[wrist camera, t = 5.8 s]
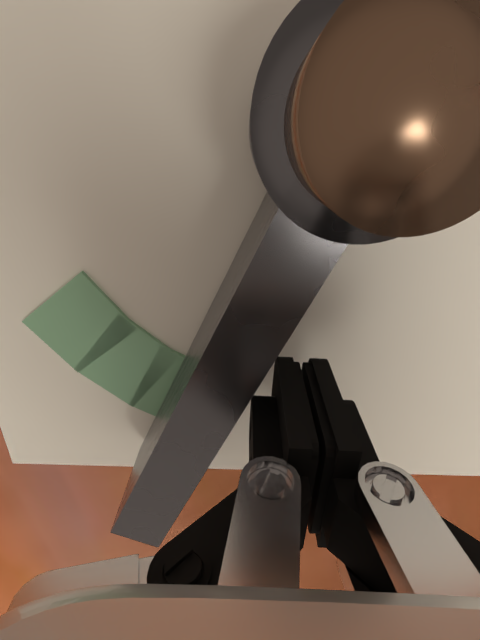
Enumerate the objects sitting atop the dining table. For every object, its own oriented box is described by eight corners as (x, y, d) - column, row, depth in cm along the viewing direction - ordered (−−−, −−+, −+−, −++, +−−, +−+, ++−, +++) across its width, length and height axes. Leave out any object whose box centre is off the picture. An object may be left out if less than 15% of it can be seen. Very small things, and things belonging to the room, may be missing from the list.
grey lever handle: (301, -14, 8) (383, -255, 3) (452, 84, 9) (704, 9, 4) (106, 434, 14) (31, 590, 9) (208, 471, 15) (189, 633, 10)
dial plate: (955, -350, 7) (1133, -474, 6) (544, 451, 17) (573, 481, 15) (-210, -366, 8) (-322, -493, 6) (31, 438, 17) (10, 466, 16)
